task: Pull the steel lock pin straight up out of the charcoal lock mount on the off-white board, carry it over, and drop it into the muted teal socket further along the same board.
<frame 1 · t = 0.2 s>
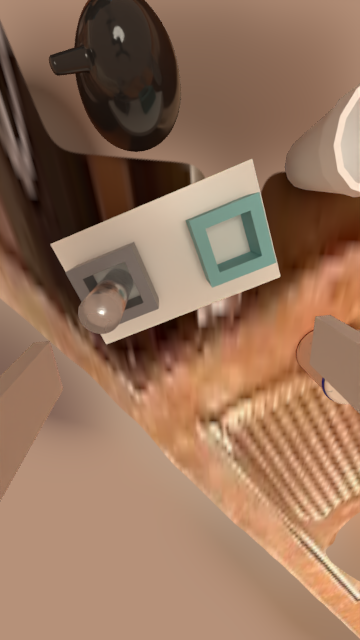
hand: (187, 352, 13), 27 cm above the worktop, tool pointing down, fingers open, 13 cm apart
socket: (225, 239, 36), resting on mount board
lock pin: (118, 282, 37), point 1 cm above the worktop, touching mount board
mount board: (171, 259, 38), on the worktop
teacup with lid: (325, 342, 46), on the worktop
foam cup: (307, 162, 35), on the worktop
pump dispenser: (134, 109, 32), on the worktop
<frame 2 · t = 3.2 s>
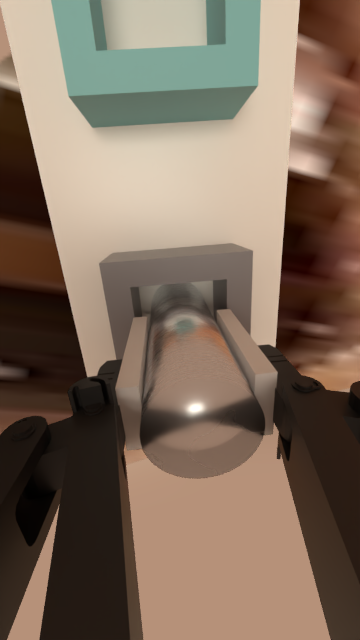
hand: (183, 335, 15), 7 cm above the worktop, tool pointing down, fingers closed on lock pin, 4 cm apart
socket: (156, 29, 15), resting on mount board
lock pin: (177, 305, 20), point 2 cm above the worktop, touching gripper, mount board
mount board: (167, 192, 19), on the worktop
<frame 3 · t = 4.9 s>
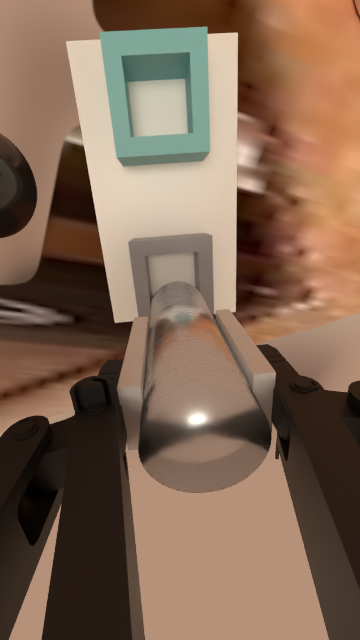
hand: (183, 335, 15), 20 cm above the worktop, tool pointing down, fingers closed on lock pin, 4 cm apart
socket: (159, 115, 27), resting on mount board
lock pin: (177, 307, 20), point 15 cm above the worktop, touching gripper
mount board: (166, 202, 31), on the worktop
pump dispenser: (4, 189, 30), on the worktop
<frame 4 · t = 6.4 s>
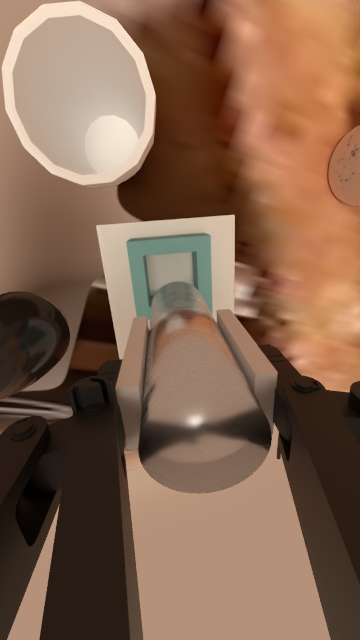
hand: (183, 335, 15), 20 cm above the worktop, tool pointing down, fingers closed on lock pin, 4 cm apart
socket: (170, 271, 33), resting on mount board
lock pin: (177, 307, 20), point 15 cm above the worktop, touching gripper
mount board: (174, 326, 37), on the worktop
teacup with lid: (357, 154, 31), on the worktop
foam cup: (114, 150, 29), on the worktop
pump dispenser: (39, 321, 36), on the worktop
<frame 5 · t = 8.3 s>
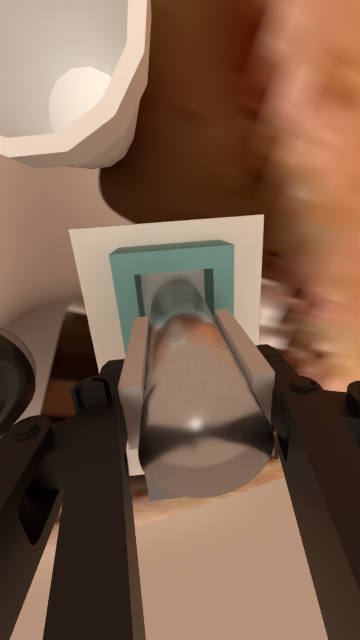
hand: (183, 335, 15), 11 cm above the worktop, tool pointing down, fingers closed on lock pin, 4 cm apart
socket: (173, 292, 24), resting on mount board
lock pin: (177, 308, 20), point 6 cm above the worktop, touching gripper
mount board: (178, 361, 28), on the worktop
foam cup: (93, 122, 20), on the worktop
when the fingers open (9 cm above the worktop, at t = 9.9 s): lock pin drops 3 cm, resting on mount board.
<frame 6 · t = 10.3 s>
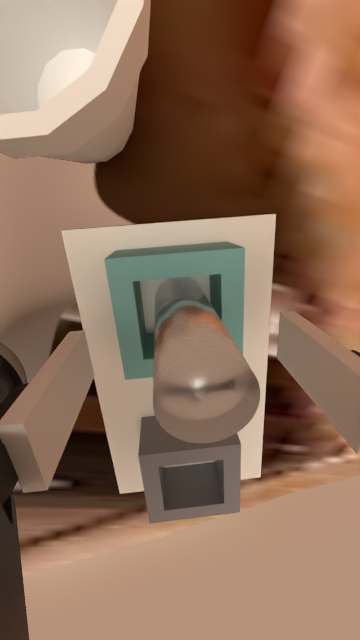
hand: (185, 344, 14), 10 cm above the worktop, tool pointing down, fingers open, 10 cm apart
socket: (176, 299, 22), resting on mount board
lock pin: (179, 299, 22), point 2 cm above the worktop, touching mount board
mount board: (181, 372, 26), on the worktop
foam cup: (88, 111, 18), on the worktop
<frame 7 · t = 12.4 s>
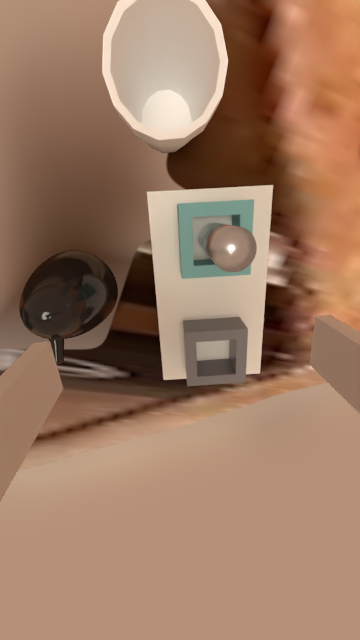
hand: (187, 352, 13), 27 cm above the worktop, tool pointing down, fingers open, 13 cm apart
socket: (210, 237, 36), resting on mount board
lock pin: (212, 238, 36), point 2 cm above the worktop, touching mount board
mount board: (209, 292, 40), on the worktop
foam cup: (166, 123, 32), on the worktop
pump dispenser: (87, 283, 39), on the worktop
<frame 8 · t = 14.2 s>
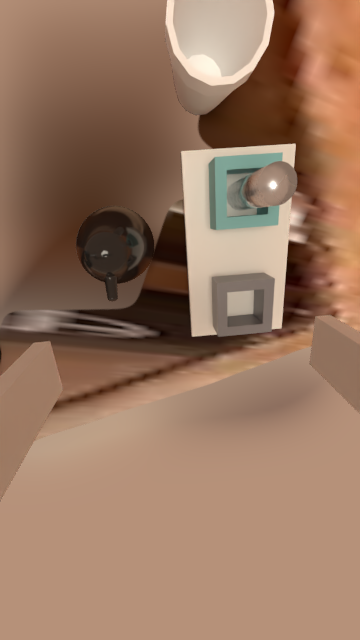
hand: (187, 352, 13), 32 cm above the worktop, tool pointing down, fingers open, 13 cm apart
socket: (238, 195, 39), resting on mount board
lock pin: (240, 195, 39), point 2 cm above the worktop, touching mount board
mount board: (235, 250, 43), on the worktop
foam cup: (198, 87, 35), on the worktop
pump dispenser: (122, 243, 42), on the worktop
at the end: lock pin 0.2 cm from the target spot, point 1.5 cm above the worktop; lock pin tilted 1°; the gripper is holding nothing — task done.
